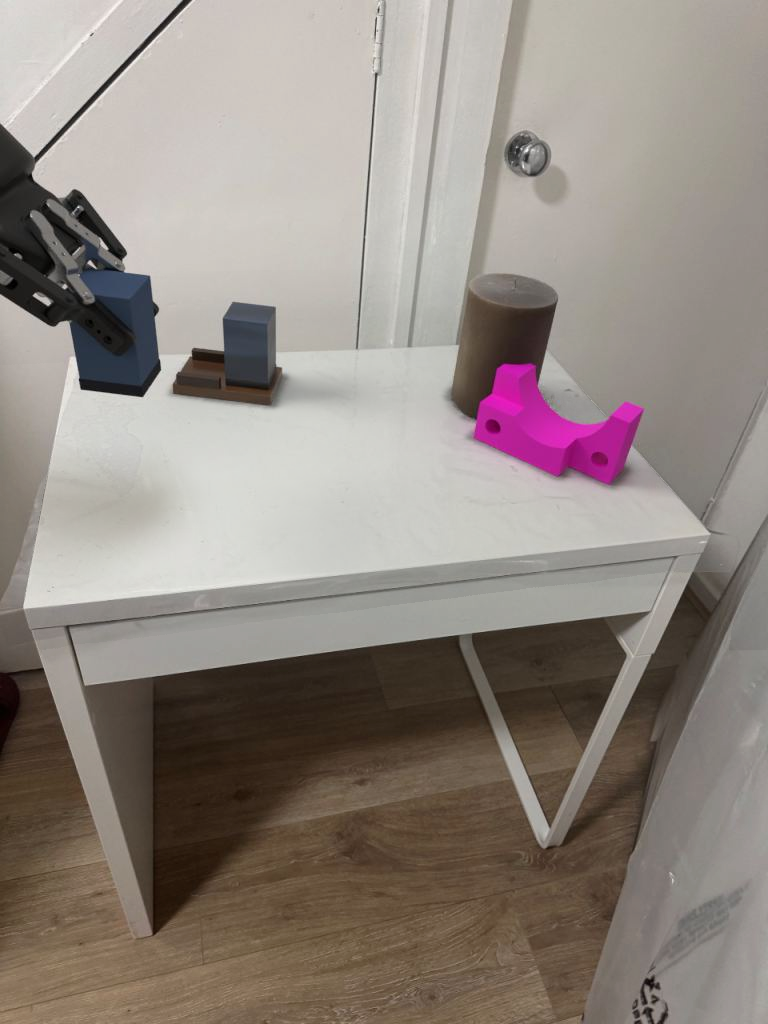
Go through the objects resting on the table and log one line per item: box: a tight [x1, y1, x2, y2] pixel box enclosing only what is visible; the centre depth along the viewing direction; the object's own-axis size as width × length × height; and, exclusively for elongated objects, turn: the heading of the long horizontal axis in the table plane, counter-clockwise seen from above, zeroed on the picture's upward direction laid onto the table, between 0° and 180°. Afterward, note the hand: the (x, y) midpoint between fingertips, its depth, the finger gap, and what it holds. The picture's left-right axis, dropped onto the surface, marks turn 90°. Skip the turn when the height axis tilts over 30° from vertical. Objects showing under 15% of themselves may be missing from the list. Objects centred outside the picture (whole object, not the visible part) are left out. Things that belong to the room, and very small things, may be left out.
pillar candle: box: [450, 272, 559, 419], centre depth 85 cm, size 10×10×15 cm
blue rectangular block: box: [64, 268, 162, 398], centre depth 58 cm, size 4×5×8 cm
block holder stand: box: [172, 301, 283, 406], centre depth 85 cm, size 7×11×9 cm, turn 85°
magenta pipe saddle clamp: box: [473, 363, 645, 485], centre depth 80 cm, size 15×6×8 cm, turn 53°
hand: (139, 332), depth 58 cm, fingers closed on blue rectangular block, 4 cm apart
